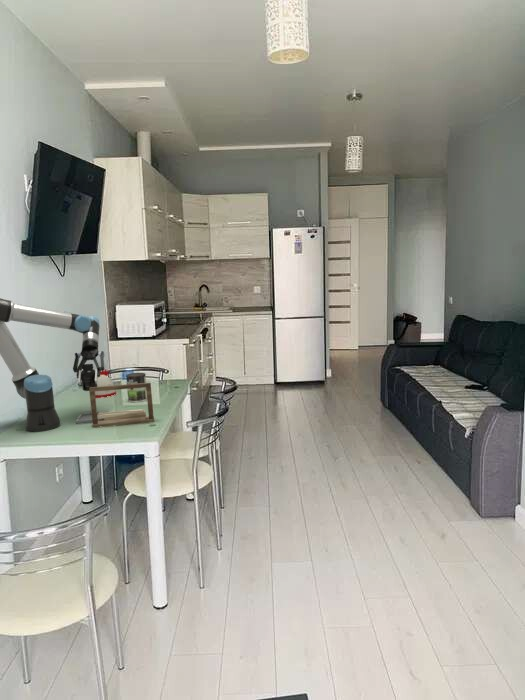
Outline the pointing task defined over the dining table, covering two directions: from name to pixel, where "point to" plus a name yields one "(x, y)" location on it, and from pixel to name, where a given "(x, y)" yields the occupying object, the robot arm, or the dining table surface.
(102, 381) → the kitchen timer
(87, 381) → the supplement bottle
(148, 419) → the walnut rack
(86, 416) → the grey tray
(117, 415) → the offcut stack
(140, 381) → the coffee can
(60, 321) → the robot arm
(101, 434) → the dining table surface
